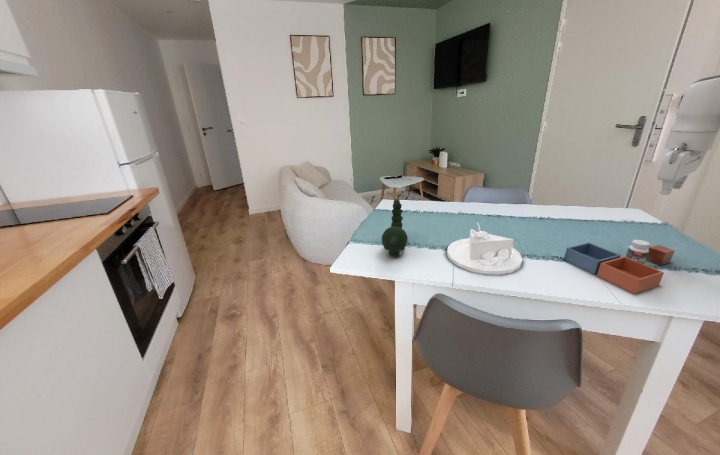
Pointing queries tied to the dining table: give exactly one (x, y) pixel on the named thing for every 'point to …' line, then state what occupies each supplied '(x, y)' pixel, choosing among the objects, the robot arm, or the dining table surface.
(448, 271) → the dining table surface
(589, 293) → the dining table surface
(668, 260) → the block
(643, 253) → the pill bottle
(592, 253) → the blue bin
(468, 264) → the dish
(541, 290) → the dining table surface
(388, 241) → the green topiary ornament
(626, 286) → the terracotta bin
